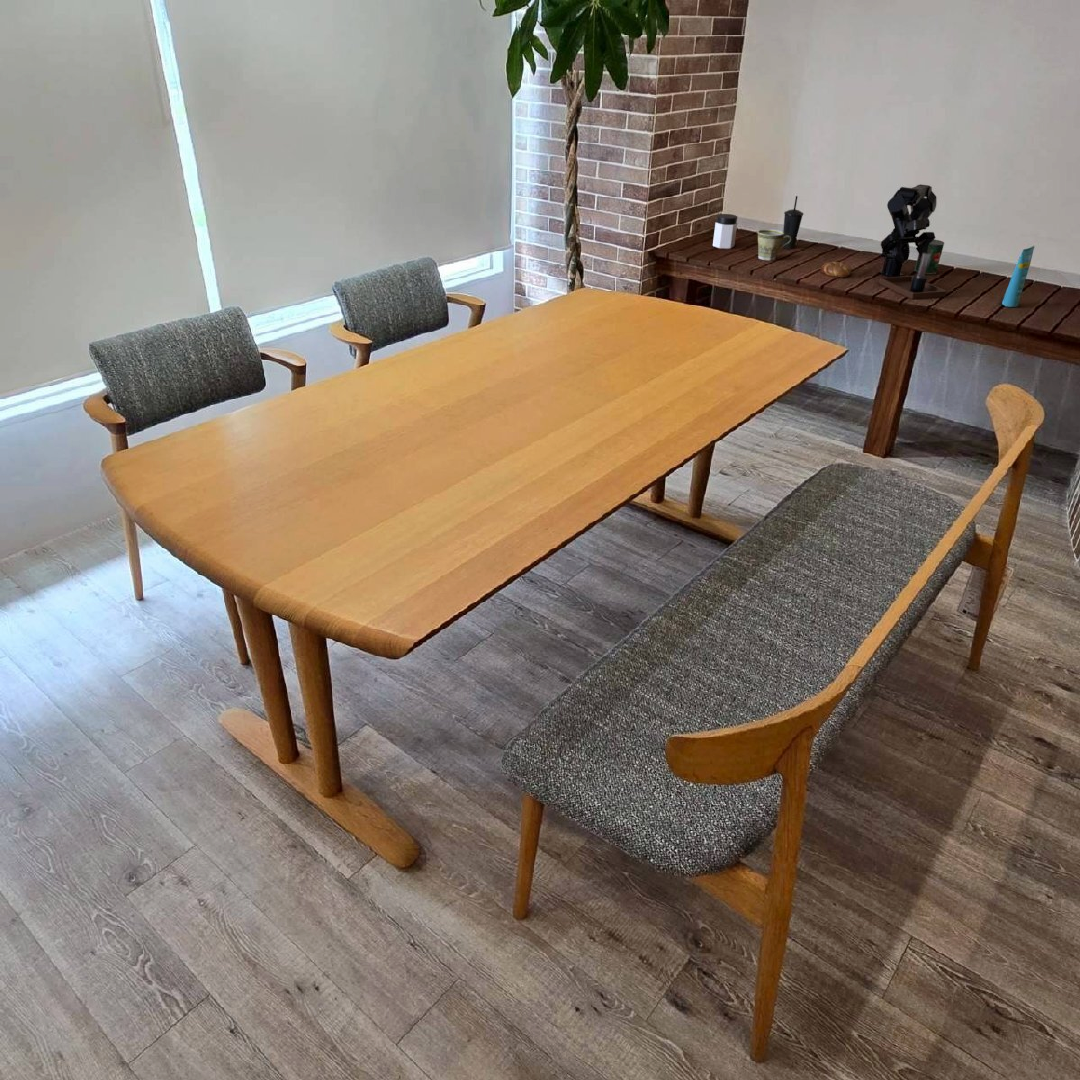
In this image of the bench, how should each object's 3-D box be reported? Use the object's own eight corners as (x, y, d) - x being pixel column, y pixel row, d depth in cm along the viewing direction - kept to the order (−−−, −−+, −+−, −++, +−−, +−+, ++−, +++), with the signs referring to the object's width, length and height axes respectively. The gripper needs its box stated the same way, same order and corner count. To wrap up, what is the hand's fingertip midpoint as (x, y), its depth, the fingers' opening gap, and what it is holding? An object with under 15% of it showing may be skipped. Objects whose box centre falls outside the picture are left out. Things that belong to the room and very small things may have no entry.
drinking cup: (799, 249, 343) (808, 198, 332) (780, 249, 343) (789, 198, 332) (794, 245, 349) (803, 194, 338) (776, 244, 349) (785, 194, 338)
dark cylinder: (907, 289, 296) (917, 252, 289) (918, 288, 297) (927, 251, 290) (915, 293, 293) (925, 255, 286) (925, 292, 294) (936, 254, 287)
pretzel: (855, 278, 308) (858, 268, 306) (826, 278, 308) (828, 268, 306) (845, 269, 318) (847, 259, 316) (817, 269, 318) (819, 259, 316)
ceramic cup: (753, 260, 328) (756, 234, 322) (755, 254, 336) (758, 228, 330) (786, 263, 325) (791, 236, 319) (788, 257, 333) (792, 231, 327)
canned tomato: (938, 274, 314) (946, 244, 308) (916, 273, 316) (923, 243, 310) (934, 269, 321) (942, 239, 315) (912, 267, 322) (920, 238, 316)
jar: (732, 244, 349) (736, 214, 343) (735, 249, 342) (740, 218, 336) (711, 243, 349) (715, 213, 343) (713, 248, 343) (717, 218, 336)
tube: (1012, 309, 280) (1032, 250, 270) (998, 305, 283) (1016, 247, 273) (1021, 304, 285) (1040, 246, 274) (1006, 301, 288) (1025, 244, 277)
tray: (878, 283, 304) (879, 277, 303) (910, 281, 307) (912, 275, 306) (911, 299, 288) (913, 293, 287) (945, 296, 291) (947, 291, 290)
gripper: (894, 210, 287) (906, 251, 285) (939, 207, 292) (951, 248, 289) (874, 228, 298) (886, 268, 295) (919, 226, 303) (930, 265, 300)
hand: (914, 262), depth 295 cm, fingers open, 9 cm apart
